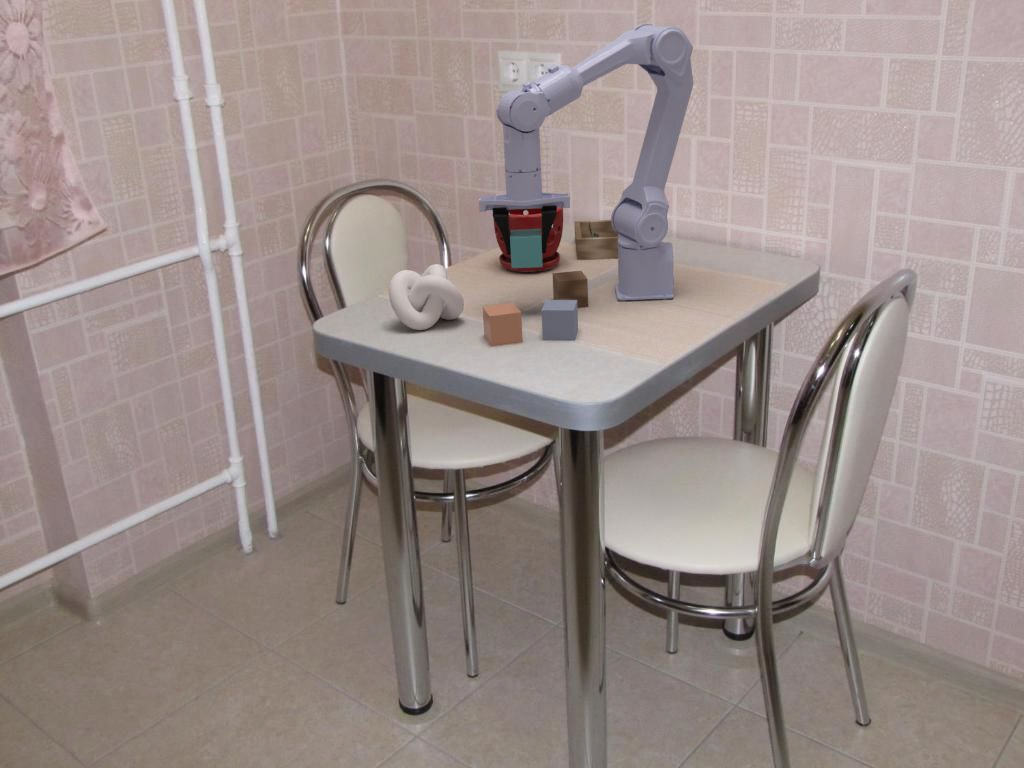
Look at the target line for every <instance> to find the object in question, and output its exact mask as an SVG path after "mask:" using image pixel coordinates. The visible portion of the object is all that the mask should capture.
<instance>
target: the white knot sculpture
mask: <svg viewBox="0 0 1024 768" xmlns="http://www.w3.org/2000/svg"><path fill="white" fill-rule="evenodd" d="M448 278H449V277H448V271H447V270H446V268H445V266H443V265H442V264H439V263H435V264H431V265H429V266H428V267H427V268H426V269H425V270H424V271H423V272H422V274H419V273H418V272H416V271H414V270H410V269H409V270H408V269H403V270H400V271H398V272H396V273H395V274H394V275H393V276H392V278H391V279H390V282H389V287H388V298H389V302H390V305H391V308H392V310H393V311H394V314H395V315H396V317H397V318H398V320H399V321H400V322H401V323H402V324H403V325H404V326H406V327H408V328H409V329H412V330H414V331H425V330H428V329H429V328H432V327H433V326H434V325H435V324H436V323H437V322H438V320H439V319H442V320H446V321H452V320H455V319H458V318H459V317H460V316H461V314H463V311H464V306H465V303H464V302H465V301H464V297H463V294H462V293H461V291H460V290H459V289H458V287H457V286H456V285H455V284H454V283H453V282H452V281H451V280H449V279H448ZM408 290H409V293H408Z"/></svg>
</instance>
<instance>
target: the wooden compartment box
mask: <svg viewBox="0 0 1024 768" xmlns="http://www.w3.org/2000/svg"><path fill="white" fill-rule="evenodd" d="M589 221H590V226H591V227H592V229H593V231H592V233H594V232H595V233H596V235H597V233H598V235H599V236H600V237H599V238H592V236H591V233H590V230H589ZM593 236H594V234H593ZM574 244H576V246H575V253H576V259H589V260H603V259H602V258H608V259H607V260H611V259H610V258H614V259H618V233H617V232H616V231H615V230H614V229H613V227H612V224H611V219H606V220H605V219H604V220H583V221H582V220H581V221H574Z"/></svg>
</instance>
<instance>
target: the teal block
mask: <svg viewBox="0 0 1024 768" xmlns="http://www.w3.org/2000/svg"><path fill="white" fill-rule="evenodd" d="M510 247H511V267H512V268H531V267H542V235H541V229H523V230H511V233H510Z"/></svg>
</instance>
